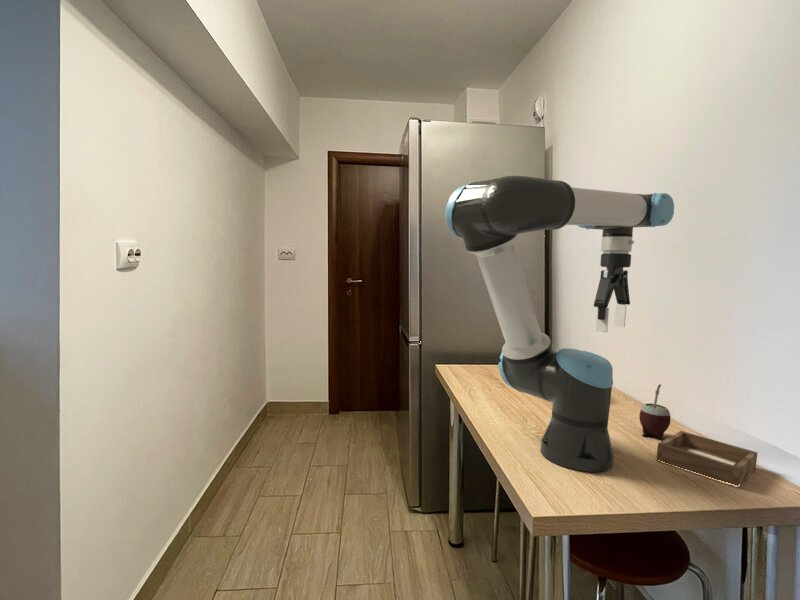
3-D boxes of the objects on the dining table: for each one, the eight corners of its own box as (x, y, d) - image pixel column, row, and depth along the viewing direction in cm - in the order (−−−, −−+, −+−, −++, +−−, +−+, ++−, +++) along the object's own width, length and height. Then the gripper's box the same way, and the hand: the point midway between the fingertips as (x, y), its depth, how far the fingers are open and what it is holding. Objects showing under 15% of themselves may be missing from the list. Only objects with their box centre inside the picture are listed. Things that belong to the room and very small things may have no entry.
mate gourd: (653, 431, 120) (659, 376, 119) (677, 442, 113) (684, 384, 112) (630, 431, 119) (635, 376, 117) (653, 443, 111) (659, 384, 110)
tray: (737, 488, 89) (739, 469, 88) (656, 460, 100) (658, 443, 100) (755, 469, 98) (757, 452, 98) (679, 446, 110) (681, 430, 109)
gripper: (614, 251, 111) (608, 335, 113) (645, 254, 128) (639, 326, 130) (584, 251, 116) (579, 331, 118) (617, 253, 134) (612, 323, 136)
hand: (610, 329), depth 124 cm, fingers open, 13 cm apart
